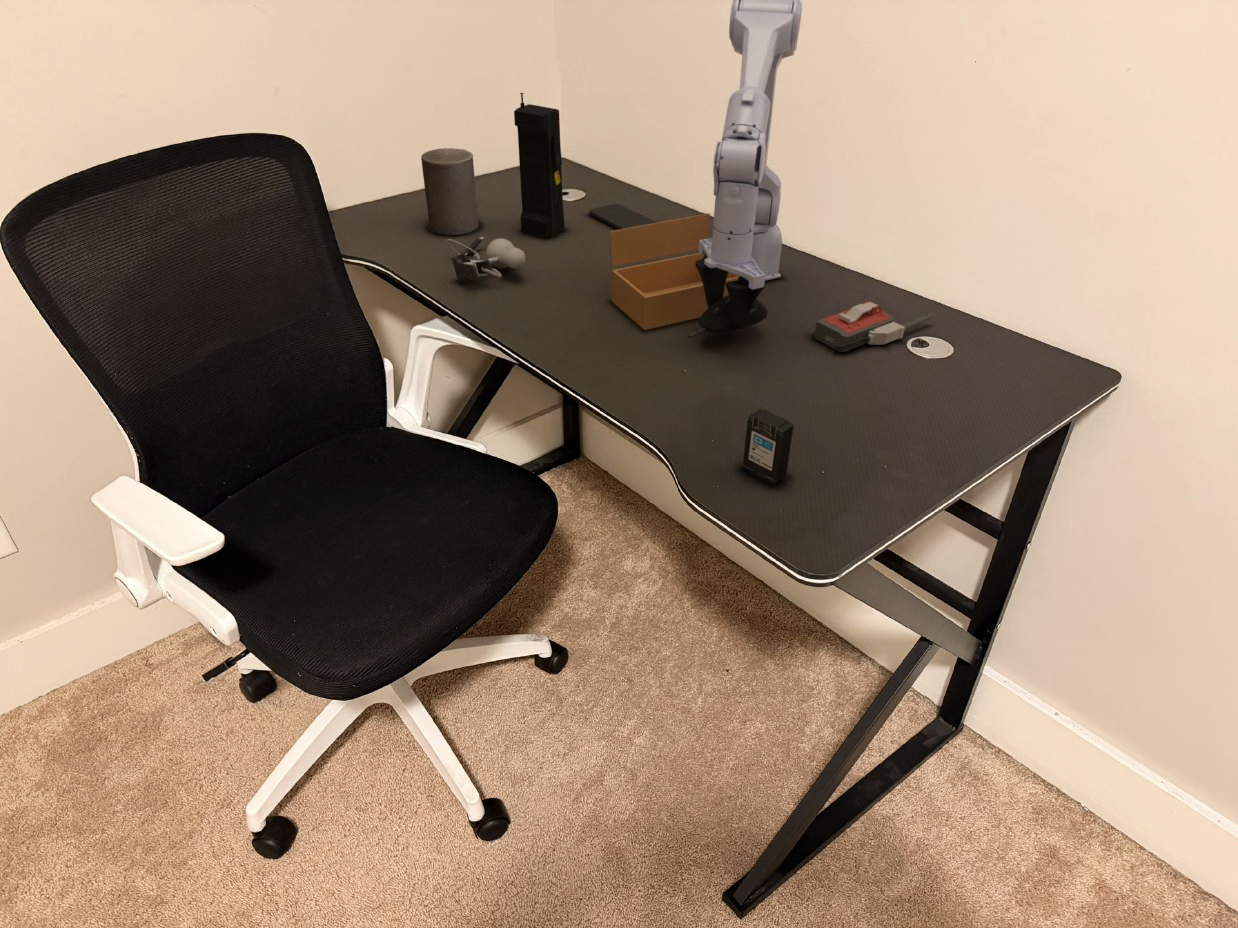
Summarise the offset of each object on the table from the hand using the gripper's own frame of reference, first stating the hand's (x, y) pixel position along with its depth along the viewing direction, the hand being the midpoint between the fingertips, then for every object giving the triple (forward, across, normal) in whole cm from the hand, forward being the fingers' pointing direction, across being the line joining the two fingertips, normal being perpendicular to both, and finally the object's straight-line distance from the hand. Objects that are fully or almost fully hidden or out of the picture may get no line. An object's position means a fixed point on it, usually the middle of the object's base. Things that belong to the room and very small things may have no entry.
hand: (725, 314), depth 130 cm
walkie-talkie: (+4, +8, +22) cm, 24 cm away
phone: (+4, -51, +9) cm, 52 cm away
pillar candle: (+5, -63, -22) cm, 67 cm away
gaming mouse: (+2, 0, 0) cm, 2 cm away
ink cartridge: (+4, +31, -14) cm, 34 cm away
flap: (-5, -20, 0) cm, 20 cm away
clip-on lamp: (+5, -41, -24) cm, 48 cm away
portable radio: (+5, -53, -7) cm, 54 cm away
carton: (+4, -14, 0) cm, 15 cm away
